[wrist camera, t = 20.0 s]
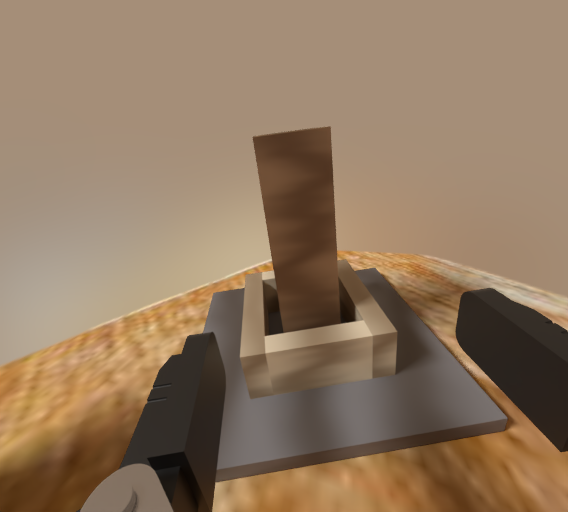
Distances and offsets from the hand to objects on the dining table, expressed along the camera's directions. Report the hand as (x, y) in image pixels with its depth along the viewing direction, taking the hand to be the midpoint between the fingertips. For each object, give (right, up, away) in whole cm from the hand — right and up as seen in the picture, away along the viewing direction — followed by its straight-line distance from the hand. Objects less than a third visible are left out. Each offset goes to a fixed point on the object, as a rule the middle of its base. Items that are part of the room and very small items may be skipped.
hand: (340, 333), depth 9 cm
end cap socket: (0, -5, +14) cm, 15 cm away
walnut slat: (0, -4, +14) cm, 14 cm away
